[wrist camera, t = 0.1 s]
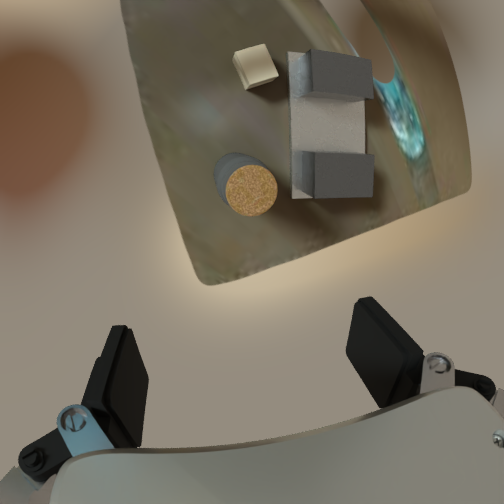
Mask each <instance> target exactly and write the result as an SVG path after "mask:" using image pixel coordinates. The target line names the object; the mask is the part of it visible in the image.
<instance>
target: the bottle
mask: <svg viewBox="0 0 504 504" xmlns="http://www.w3.org/2000/svg"><path fill="white" fill-rule="evenodd" d="M214 179H215V183H216V186H217V190H218V193H219V195H220V197H221V198H222V200H223V201H224V202H225V203H226V204H227V205H228V206H230V207H231V208H233V209H234V210H235V211H236V212H238V213H239V214H242V215H245V216H257V215H260V214H263V213H265V212H266V211H268V210H269V209H270V208H271V207H272V205H273V204H274V202H275V200H276V198H277V193H278V187H277V182H276V180H275V178H274V176H273V175H272V173H271V172H270V171H269V170H268V168H267V167H266V166H265V164H263V163H262V162H261V161H260V160H258V159H256V158H254V157H251V156H248V155H245V154H241V153H230V154H227V155H225V156H223V157H222V158H221V159H220V160H219V161H218V162H217V164H216V166H215V169H214Z"/></svg>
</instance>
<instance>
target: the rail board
mask: <svg viewBox="0 0 504 504" xmlns="http://www.w3.org/2000/svg"><path fill="white" fill-rule="evenodd" d="M286 62H287V82H288V106H289V142H290V198H292V199H298V198H314V199H317V198H351V197H373V180H374V155H371V154H365V107H364V101H365V100H372V99H374V93H373V77H372V64H371V60H369V59H364V58H360V57H355V56H351V55H345V54H340V53H334V52H328V51H321V50H314V49H310V50H309V51H308V52H306V53H297V52H287V53H286Z"/></svg>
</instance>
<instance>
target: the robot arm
mask: <svg viewBox="0 0 504 504" xmlns="http://www.w3.org/2000/svg"><path fill="white" fill-rule="evenodd" d="M346 354H347V357H348V358H349V360H350V362H351V363H352V365H353V366H354V368H355V370H356V371H357V373H358V374H359V376H360V378H361V379H362V381H363V382H364V384H365V385H366V387H367V389H368V390H369V392H370V394H371V395H372V397H373V398H374V400H375V402H376V403H377V405H378V406H379V408H383V409H380V410H377V411H374V412H371V413H368V414H366V415H363V416H360V417H357V418H353V419H350V420H347V421H343V422H340V423H337V424H333V425H330V426H325V427H322V428H318V429H314V430H310V431H305V432H301V433H297V434H292V435H288V436H282V437H277V438H271V439H265V440H259V441H252V442H245V443H237V444H229V445H218V446H206V447H187V448H137V447H140V446H141V442H142V431H143V421H144V414H145V405H146V397H147V390H148V382H149V379H148V374H147V371H146V369H145V366H144V363H143V361H142V358H141V355H140V352H139V350H138V346H137V344H136V340H135V338H134V334H133V331H132V329H128V327H127V326H126V325H116V326H112V328H111V331H110V333H109V336H108V338H107V341H106V343H105V346H104V349H103V351H102V354H101V357H98V358H97V359H96V361H95V364H94V367H93V370H92V372H91V375H90V378H89V381H88V384H87V387H86V390H85V393H84V396H83V399H82V402H81V405H78V404H75V405H70V406H67V407H65V408H64V409H63V410H62V411H61V412H60V413H59V415H58V417H57V426H58V428H56V429H55V430H53V431H51V432H50V433H48V434H46V435H45V436H43V437H41V438H40V439H38V440H36V441H35V442H33V443H31V444H29V445H28V446H26V447H25V448H23V449H22V451H21V452H20V455H19V459H18V460H19V461H18V463H19V466H18V467H17V468H16V467H15V466H14V467H13V468H12V469H11V470H10V471H9V472H8V473H7V474H6V475H5V477H4V478H3V479H2V480H1V481H0V504H504V390H502V389H500V388H499V389H498V390H496V387H495V384H494V382H493V381H492V380H491V379H490V378H488V377H486V376H483V375H479V374H474V373H469V372H465V371H460V370H456V369H454V363H453V361H452V360H451V359H450V358H449V357H448V356H447V355H445V354H442V353H438V352H434V353H430V354H428V355H426V357H425V356H424V355H423V350H422V349H421V348H420V347H419V345H418V344H417V343H416V342H415V341H414V340H413V339H412V338H411V337H410V336H409V335H408V334H407V332H406V331H405V330H403V328H402V327H401V326H400V325H399V324H398V323H397V322H396V321H395V320H394V319H393V318H392V317H391V316H390V315H389V314H388V313H387V311H386V310H385V309H384V308H383V307H382V306H381V305H380V304H379V303H378V302H377V301H376V300H375V299H374V298H373V297H365V298H360V299H359V300H358V302H356V303H355V305H354V310H353V315H352V321H351V326H350V331H349V337H348V341H347V346H346Z"/></svg>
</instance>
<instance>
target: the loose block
mask: <svg viewBox="0 0 504 504" xmlns="http://www.w3.org/2000/svg"><path fill="white" fill-rule="evenodd" d="M232 61H233V63H234V65H235V67H236V70H237V72H238V74H239V76H240V79H241V81H242V83H243V85H244V88H245V90H247V89H250V88H253V87H256V86H259V85H262V84H265V83H268V82H272V81H273V80H274V79H275V78H277V77H278V76H279V75H278V72H277V70H276V68H275V66H274V64H273V61H272V59H271V57H270V55H269V53H268V50H267V48H266V46H265V44H261V45H258V46H254V47H251V48H247V49H244V50H240V51H237V52H235V54H234V57H233V59H232Z"/></svg>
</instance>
